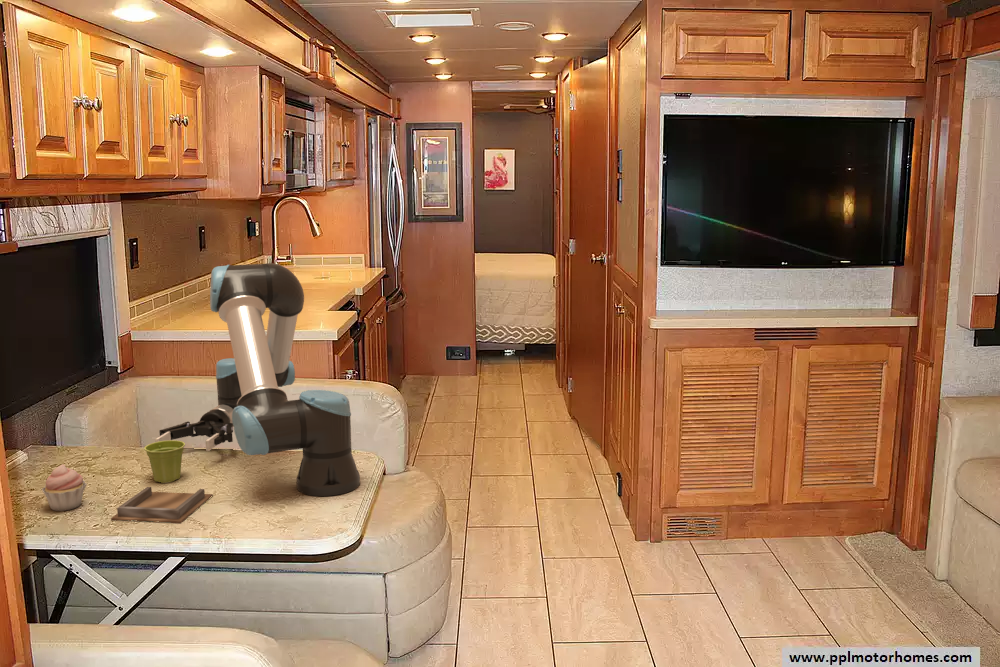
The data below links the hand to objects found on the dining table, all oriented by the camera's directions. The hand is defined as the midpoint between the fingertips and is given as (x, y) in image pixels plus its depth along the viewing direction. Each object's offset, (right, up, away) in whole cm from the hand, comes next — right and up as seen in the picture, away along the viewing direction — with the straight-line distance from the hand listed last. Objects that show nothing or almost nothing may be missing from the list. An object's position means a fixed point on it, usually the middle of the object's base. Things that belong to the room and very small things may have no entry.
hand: (181, 445), depth 221 cm
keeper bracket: (+5, -11, -26) cm, 29 cm away
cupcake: (-17, -11, -25) cm, 32 cm away
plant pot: (-1, -8, -7) cm, 11 cm away
